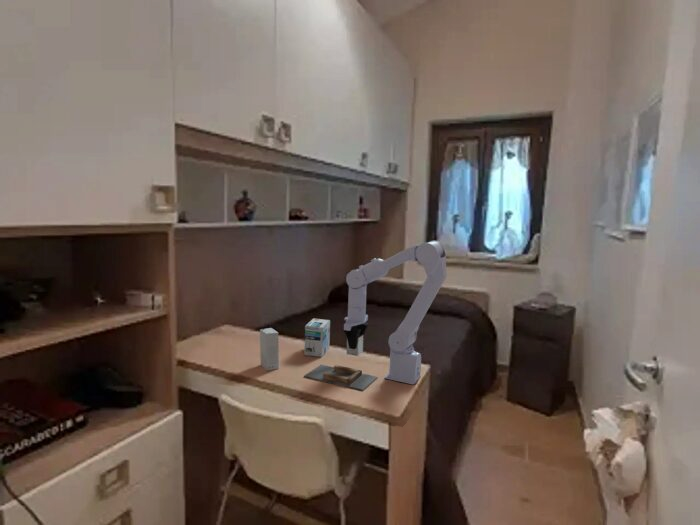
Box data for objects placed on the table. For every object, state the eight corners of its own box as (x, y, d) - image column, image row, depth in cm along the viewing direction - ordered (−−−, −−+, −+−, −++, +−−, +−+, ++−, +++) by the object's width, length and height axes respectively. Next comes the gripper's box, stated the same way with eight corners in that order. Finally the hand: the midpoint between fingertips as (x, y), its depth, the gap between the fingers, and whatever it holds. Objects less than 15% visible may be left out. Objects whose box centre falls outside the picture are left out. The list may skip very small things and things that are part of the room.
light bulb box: (322, 357, 157) (323, 327, 156) (303, 355, 158) (304, 325, 157) (329, 347, 167) (330, 319, 166) (312, 346, 169) (313, 317, 167)
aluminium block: (362, 352, 149) (363, 334, 149) (357, 356, 146) (358, 338, 145) (351, 350, 151) (352, 333, 150) (346, 354, 148) (347, 336, 147)
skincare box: (279, 368, 145) (280, 332, 143) (266, 371, 143) (266, 334, 141) (271, 362, 150) (272, 327, 149) (259, 364, 148) (259, 328, 146)
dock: (377, 378, 141) (377, 372, 141) (363, 391, 131) (363, 384, 131) (321, 365, 149) (321, 360, 149) (303, 377, 139) (303, 371, 139)
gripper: (355, 300, 154) (353, 338, 156) (335, 308, 141) (334, 350, 143) (374, 302, 151) (372, 342, 153) (356, 312, 138) (354, 354, 140)
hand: (355, 346), depth 148 cm, fingers closed on aluminium block, 4 cm apart
